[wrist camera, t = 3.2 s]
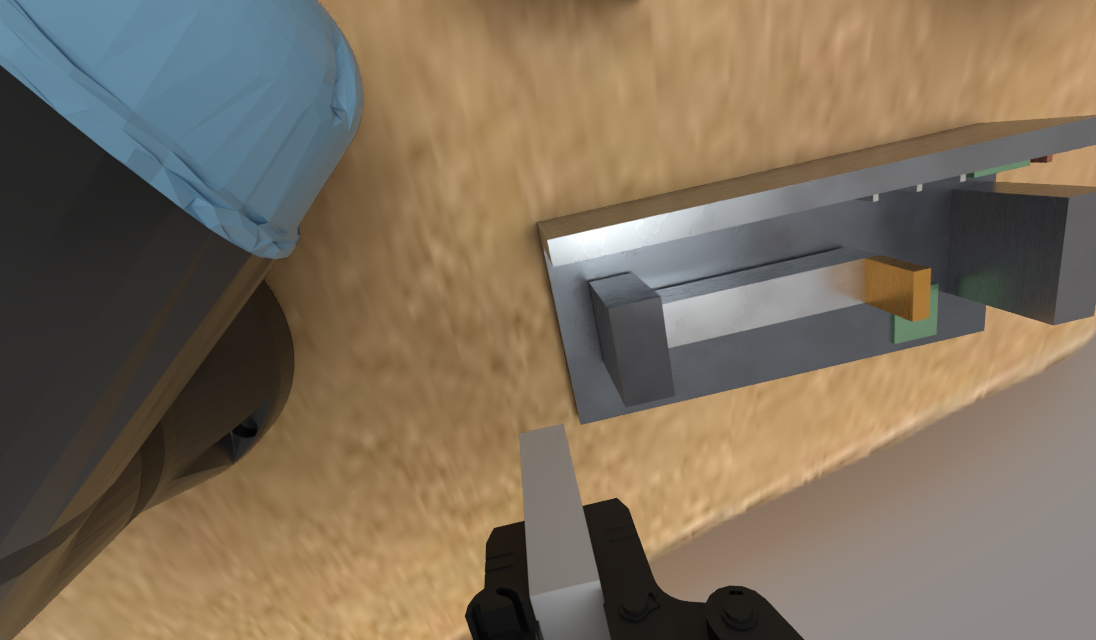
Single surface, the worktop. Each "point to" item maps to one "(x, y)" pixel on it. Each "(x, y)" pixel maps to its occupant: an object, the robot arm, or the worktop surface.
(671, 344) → the capped sliding bar
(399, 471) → the worktop surface
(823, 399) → the worktop surface
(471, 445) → the worktop surface
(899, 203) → the rail
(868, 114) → the worktop surface
